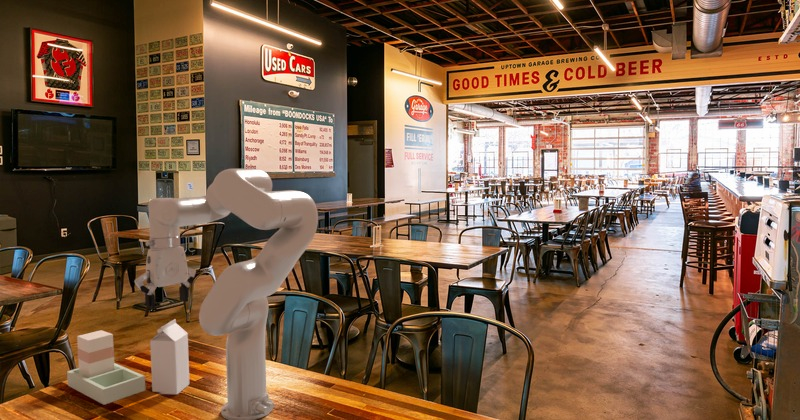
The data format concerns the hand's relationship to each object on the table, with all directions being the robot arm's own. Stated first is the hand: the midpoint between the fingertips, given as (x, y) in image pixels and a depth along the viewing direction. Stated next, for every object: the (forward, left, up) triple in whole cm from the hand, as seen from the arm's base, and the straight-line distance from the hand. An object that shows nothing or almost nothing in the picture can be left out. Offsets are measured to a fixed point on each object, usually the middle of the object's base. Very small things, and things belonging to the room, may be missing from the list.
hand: (167, 304), depth 147 cm
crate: (+14, +11, -24) cm, 30 cm away
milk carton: (0, 0, -24) cm, 24 cm away
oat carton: (+19, +11, -23) cm, 32 cm away
